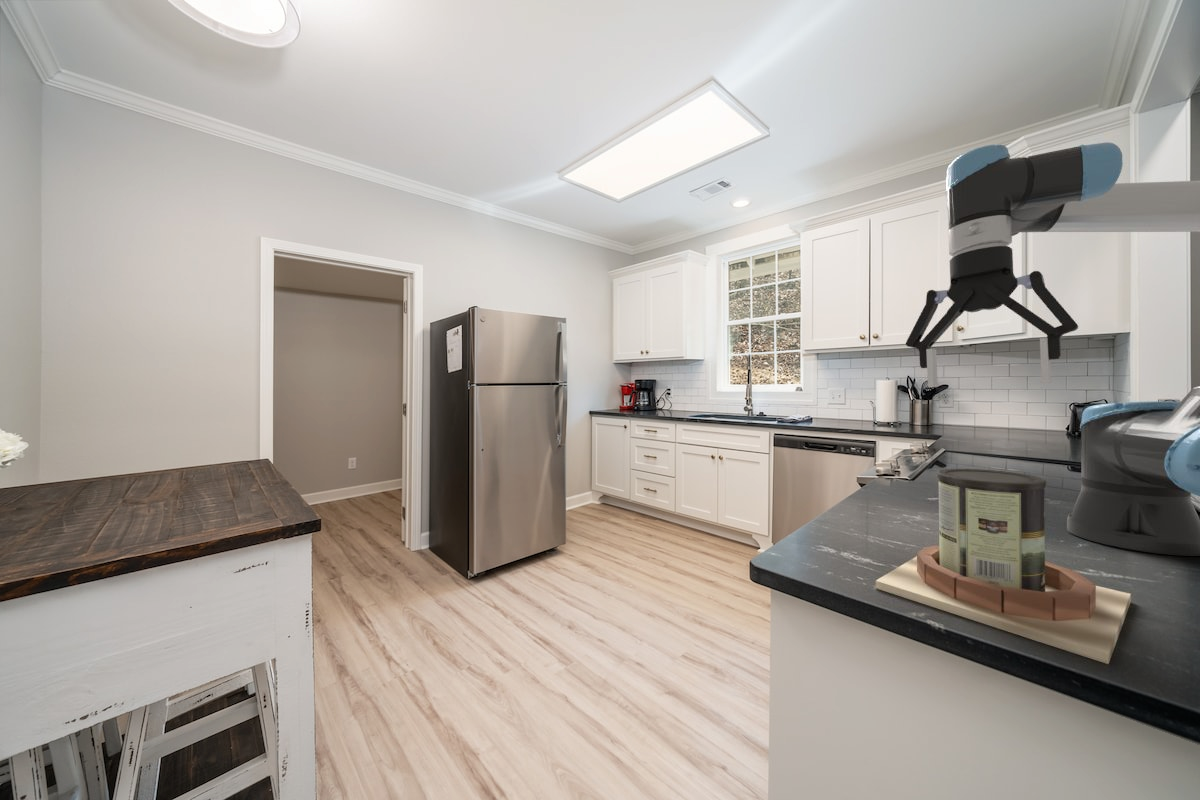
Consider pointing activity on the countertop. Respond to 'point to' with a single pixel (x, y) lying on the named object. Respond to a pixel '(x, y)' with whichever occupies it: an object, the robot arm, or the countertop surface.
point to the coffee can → (993, 526)
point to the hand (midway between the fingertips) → (985, 385)
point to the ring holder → (1020, 604)
